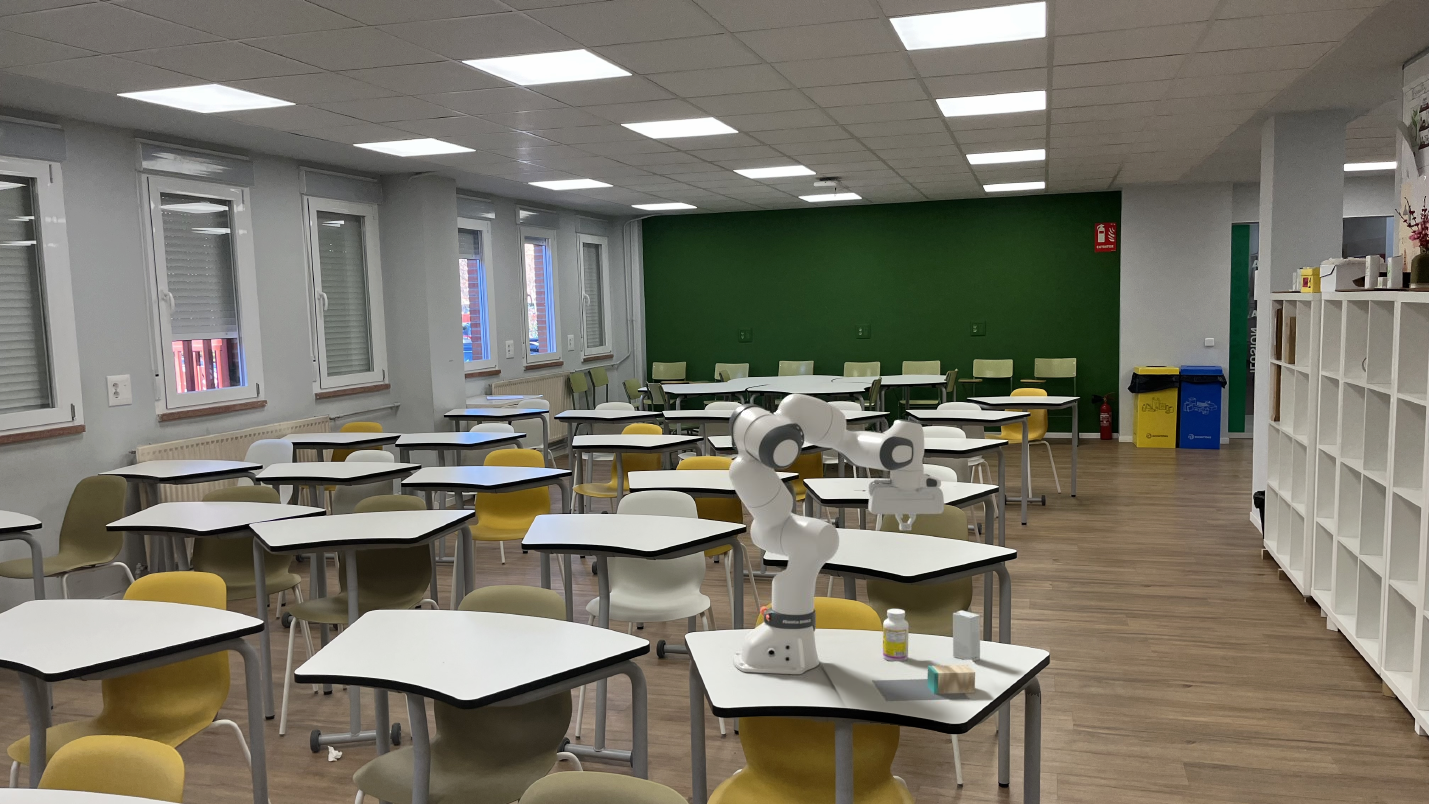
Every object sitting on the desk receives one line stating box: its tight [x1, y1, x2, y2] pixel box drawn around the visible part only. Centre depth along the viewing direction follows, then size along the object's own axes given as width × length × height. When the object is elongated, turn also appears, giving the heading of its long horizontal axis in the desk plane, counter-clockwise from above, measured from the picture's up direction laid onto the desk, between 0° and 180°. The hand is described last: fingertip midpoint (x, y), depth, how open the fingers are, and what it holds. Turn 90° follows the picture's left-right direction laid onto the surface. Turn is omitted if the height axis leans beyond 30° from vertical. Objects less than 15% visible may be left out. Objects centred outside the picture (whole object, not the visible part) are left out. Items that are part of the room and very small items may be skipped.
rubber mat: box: [872, 678, 971, 702], centre depth 232 cm, size 20×13×1 cm, turn 95°
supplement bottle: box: [882, 608, 910, 663], centre depth 256 cm, size 7×7×13 cm
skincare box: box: [952, 610, 981, 662], centre depth 257 cm, size 6×4×12 cm
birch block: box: [926, 664, 976, 694], centre depth 232 cm, size 5×5×10 cm
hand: (905, 529), depth 262 cm, fingers closed
